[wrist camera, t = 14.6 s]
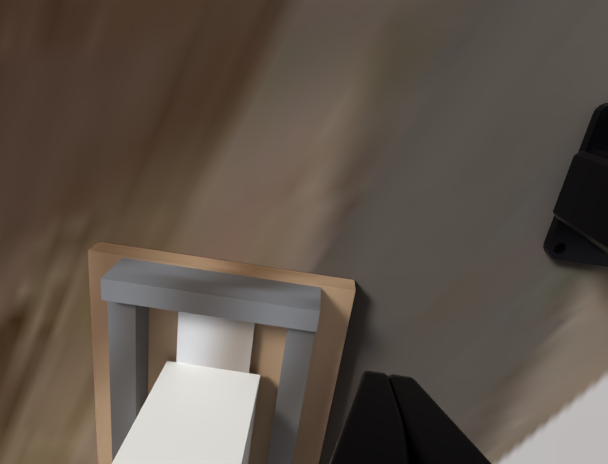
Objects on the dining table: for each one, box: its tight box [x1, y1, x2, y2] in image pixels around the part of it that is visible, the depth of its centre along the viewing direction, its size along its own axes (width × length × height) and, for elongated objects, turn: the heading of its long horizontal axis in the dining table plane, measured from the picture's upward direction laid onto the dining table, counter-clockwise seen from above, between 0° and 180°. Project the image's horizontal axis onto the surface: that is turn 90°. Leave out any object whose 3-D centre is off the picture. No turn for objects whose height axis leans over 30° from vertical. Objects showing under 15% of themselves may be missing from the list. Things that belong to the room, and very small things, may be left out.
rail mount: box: [88, 242, 356, 464], centre depth 22 cm, size 12×18×3 cm, turn 172°
